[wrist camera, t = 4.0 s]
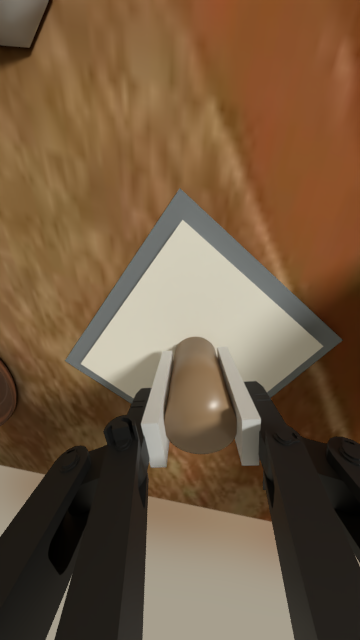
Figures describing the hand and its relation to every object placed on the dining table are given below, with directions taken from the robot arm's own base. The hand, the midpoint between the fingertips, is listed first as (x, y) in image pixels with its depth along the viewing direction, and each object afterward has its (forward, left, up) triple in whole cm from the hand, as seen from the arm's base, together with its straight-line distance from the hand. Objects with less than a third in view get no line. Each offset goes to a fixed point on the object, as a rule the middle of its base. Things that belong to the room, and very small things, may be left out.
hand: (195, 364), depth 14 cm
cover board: (0, 0, -2) cm, 2 cm away
